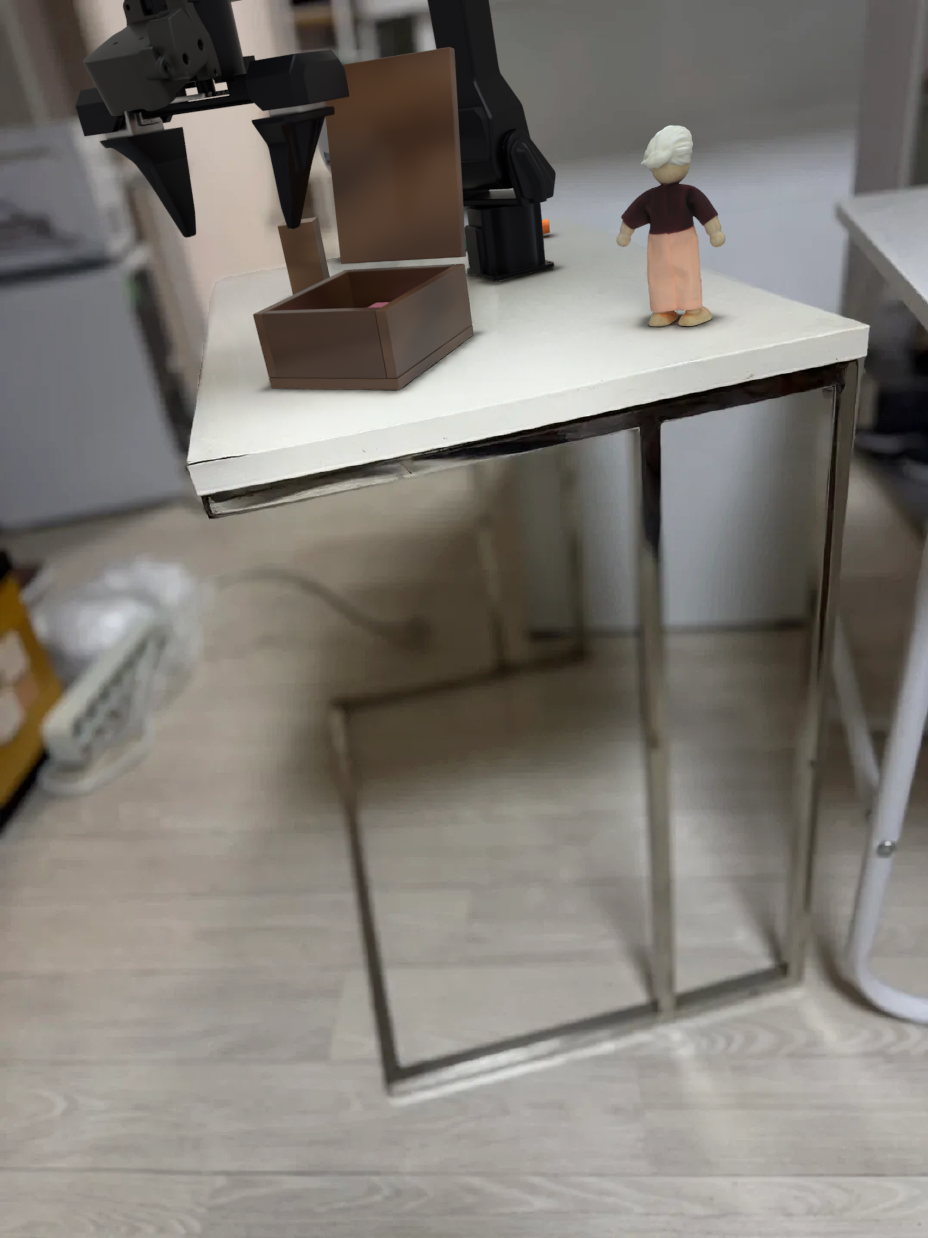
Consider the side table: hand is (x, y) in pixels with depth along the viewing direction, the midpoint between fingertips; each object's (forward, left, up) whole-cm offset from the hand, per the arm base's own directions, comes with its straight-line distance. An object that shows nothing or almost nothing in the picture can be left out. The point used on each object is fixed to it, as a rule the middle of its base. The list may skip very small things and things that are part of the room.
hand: (240, 232), depth 66 cm
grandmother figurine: (-26, +15, -10) cm, 32 cm away
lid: (-12, +1, +3) cm, 12 cm away
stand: (-10, -22, -10) cm, 26 cm away
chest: (-7, +5, -10) cm, 13 cm away
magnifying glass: (-32, -28, -10) cm, 44 cm away
